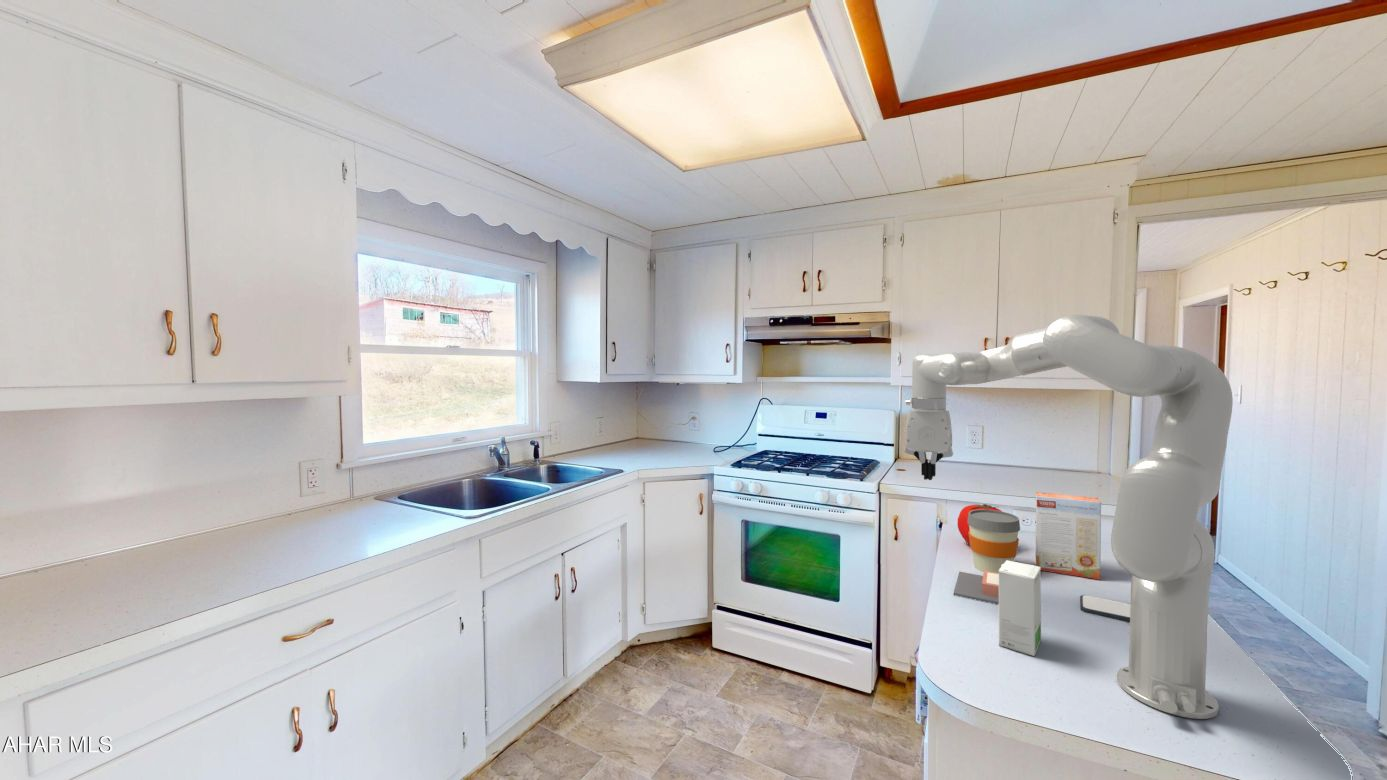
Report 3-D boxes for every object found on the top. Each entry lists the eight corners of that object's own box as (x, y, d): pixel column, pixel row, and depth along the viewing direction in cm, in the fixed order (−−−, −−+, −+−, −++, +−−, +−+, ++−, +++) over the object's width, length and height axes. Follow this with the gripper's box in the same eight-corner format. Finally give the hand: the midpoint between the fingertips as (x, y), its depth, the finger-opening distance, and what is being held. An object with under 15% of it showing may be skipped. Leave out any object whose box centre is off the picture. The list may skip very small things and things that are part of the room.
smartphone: (1080, 614, 114) (1177, 635, 104) (1080, 607, 114) (1177, 627, 104) (1080, 599, 121) (1170, 618, 111) (1080, 593, 121) (1170, 611, 111)
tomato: (1009, 559, 145) (1009, 512, 144) (956, 550, 152) (956, 506, 151) (1007, 542, 158) (1007, 500, 158) (958, 535, 165) (958, 495, 165)
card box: (981, 593, 122) (1014, 600, 118) (982, 583, 122) (1015, 589, 118) (983, 580, 129) (1014, 586, 126) (983, 570, 129) (1014, 575, 126)
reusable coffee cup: (1020, 581, 130) (1021, 525, 129) (965, 572, 136) (966, 518, 136) (1018, 565, 140) (1019, 513, 140) (968, 556, 147) (968, 507, 146)
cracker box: (1097, 572, 134) (1098, 496, 134) (1100, 581, 129) (1102, 502, 128) (1034, 562, 142) (1035, 490, 141) (1035, 570, 137) (1036, 495, 136)
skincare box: (1034, 657, 96) (1035, 579, 96) (995, 645, 101) (996, 570, 100) (1041, 640, 102) (1042, 566, 102) (1004, 628, 107) (1005, 558, 106)
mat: (1026, 610, 115) (1026, 608, 114) (953, 595, 123) (953, 592, 123) (1025, 586, 127) (1025, 583, 127) (959, 573, 135) (959, 571, 135)
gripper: (893, 405, 122) (893, 478, 123) (961, 406, 114) (961, 485, 115) (899, 403, 129) (899, 472, 130) (964, 404, 121) (964, 479, 121)
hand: (928, 478), depth 122 cm, fingers closed
